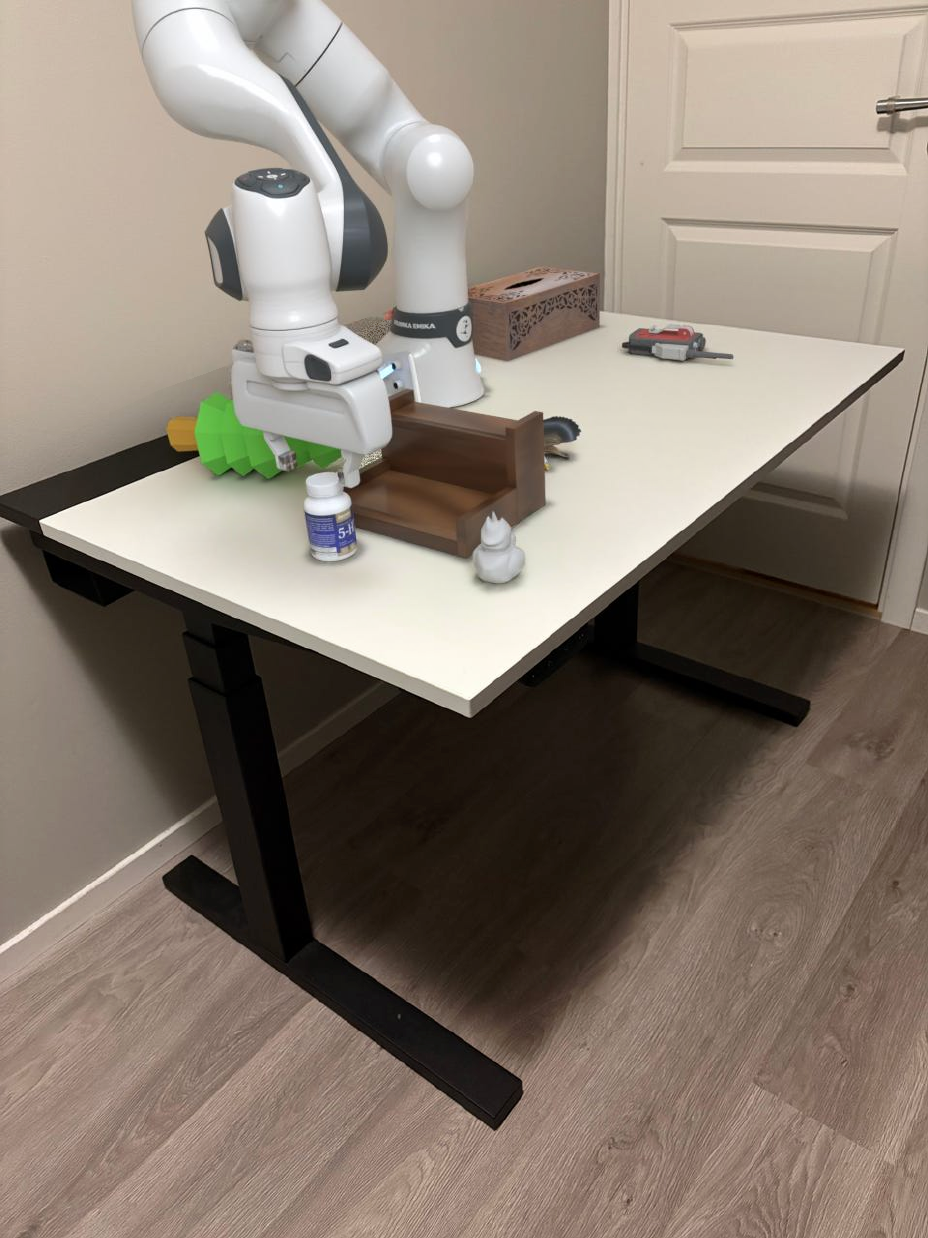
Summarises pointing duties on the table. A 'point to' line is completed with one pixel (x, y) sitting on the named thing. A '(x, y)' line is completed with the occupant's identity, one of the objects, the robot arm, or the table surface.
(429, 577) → the table surface
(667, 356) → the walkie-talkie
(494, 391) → the table surface
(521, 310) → the tissue box cover
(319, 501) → the pill bottle
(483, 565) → the rubber duck
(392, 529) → the shelf
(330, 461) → the decorative tree
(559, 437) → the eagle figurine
